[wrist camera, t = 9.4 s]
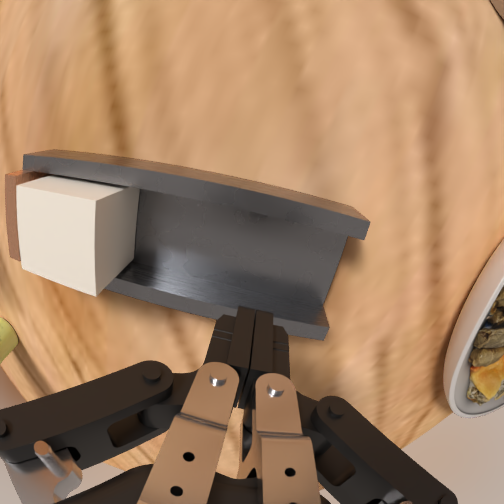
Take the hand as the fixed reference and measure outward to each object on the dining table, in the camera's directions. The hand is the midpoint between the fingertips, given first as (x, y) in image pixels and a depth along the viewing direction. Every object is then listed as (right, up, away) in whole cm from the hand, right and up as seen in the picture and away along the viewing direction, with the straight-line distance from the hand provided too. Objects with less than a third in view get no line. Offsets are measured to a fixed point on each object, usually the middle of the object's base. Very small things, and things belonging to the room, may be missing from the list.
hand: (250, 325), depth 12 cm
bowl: (+34, -4, +11) cm, 36 cm away
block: (-12, +6, +8) cm, 15 cm away
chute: (-6, +5, +9) cm, 12 cm away
